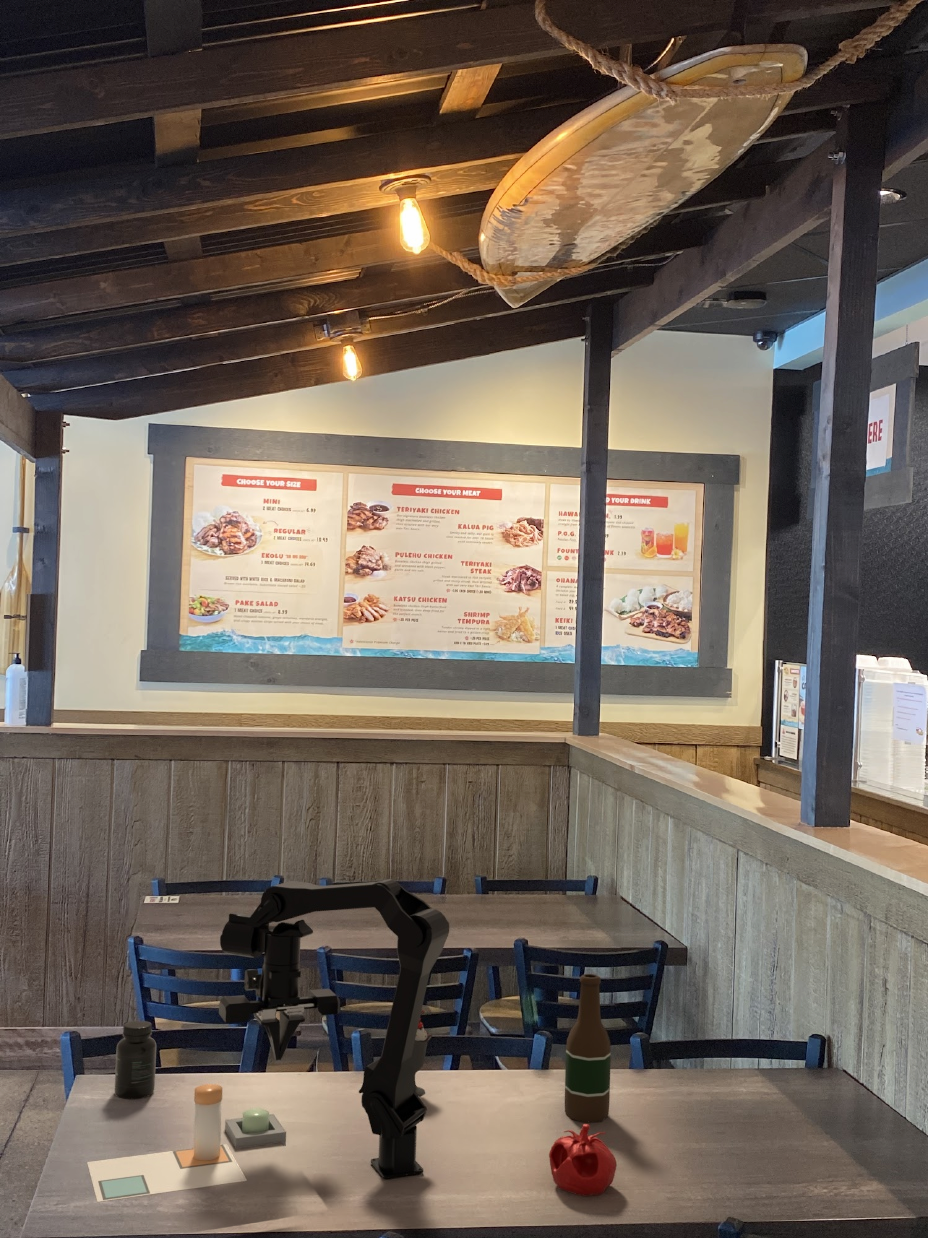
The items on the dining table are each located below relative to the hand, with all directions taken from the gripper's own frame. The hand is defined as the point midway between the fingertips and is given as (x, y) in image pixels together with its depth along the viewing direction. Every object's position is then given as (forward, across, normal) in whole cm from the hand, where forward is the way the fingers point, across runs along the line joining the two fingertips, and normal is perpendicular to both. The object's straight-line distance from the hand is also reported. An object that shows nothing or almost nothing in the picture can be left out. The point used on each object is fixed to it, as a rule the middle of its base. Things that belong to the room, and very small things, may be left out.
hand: (277, 1059), depth 187 cm
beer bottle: (+13, -54, +6) cm, 56 cm away
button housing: (+13, +3, -1) cm, 13 cm away
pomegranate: (+13, -39, +31) cm, 52 cm away
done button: (+12, +3, -1) cm, 13 cm away
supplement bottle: (+13, +18, -29) cm, 37 cm away
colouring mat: (+13, +18, +8) cm, 24 cm away
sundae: (+13, -29, -14) cm, 35 cm away
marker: (+12, +12, +4) cm, 17 cm away
